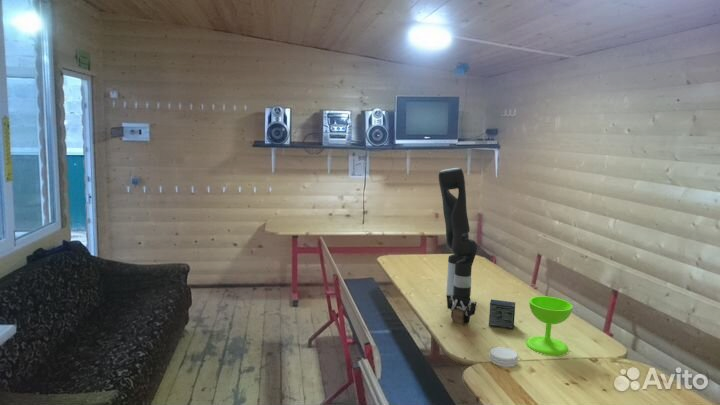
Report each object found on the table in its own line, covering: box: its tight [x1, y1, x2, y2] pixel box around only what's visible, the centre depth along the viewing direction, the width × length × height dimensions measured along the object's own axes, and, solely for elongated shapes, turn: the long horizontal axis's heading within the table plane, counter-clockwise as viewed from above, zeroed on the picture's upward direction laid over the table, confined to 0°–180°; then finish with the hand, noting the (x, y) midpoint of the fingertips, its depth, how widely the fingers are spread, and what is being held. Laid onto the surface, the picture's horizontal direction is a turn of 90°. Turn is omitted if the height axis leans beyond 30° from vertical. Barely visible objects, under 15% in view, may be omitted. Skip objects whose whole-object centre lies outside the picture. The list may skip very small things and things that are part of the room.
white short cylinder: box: [489, 346, 519, 368], centre depth 183 cm, size 10×10×4 cm
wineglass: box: [525, 295, 574, 357], centre depth 195 cm, size 16×16×18 cm
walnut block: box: [451, 307, 466, 327], centre depth 218 cm, size 5×5×6 cm
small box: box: [488, 299, 516, 331], centre depth 216 cm, size 11×6×10 cm, turn 71°
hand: (460, 320), depth 218 cm, fingers open, 6 cm apart
